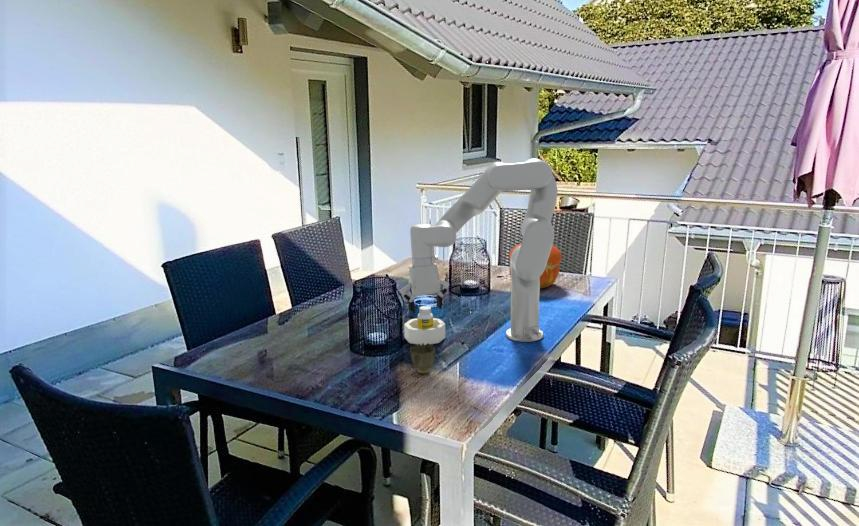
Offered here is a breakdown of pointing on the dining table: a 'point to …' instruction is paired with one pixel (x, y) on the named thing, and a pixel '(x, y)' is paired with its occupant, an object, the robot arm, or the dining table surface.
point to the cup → (422, 357)
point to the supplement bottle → (425, 318)
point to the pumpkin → (548, 267)
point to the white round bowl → (424, 332)
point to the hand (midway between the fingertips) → (426, 309)
